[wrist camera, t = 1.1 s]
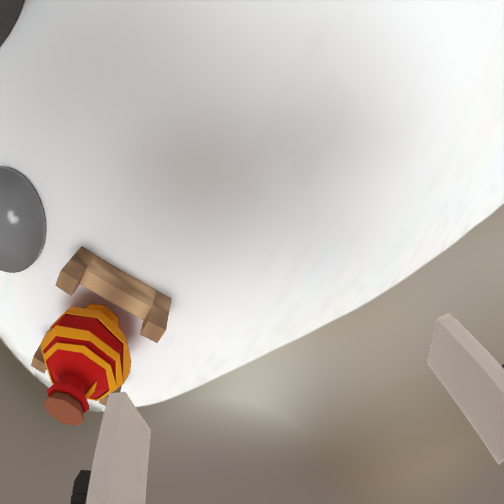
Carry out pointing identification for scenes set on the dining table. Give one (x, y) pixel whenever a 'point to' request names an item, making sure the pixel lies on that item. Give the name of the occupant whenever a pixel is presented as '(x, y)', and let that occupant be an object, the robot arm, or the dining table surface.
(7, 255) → the coaster
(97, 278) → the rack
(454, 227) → the dining table surface
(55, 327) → the potion bottle
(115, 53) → the dining table surface
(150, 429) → the robot arm
